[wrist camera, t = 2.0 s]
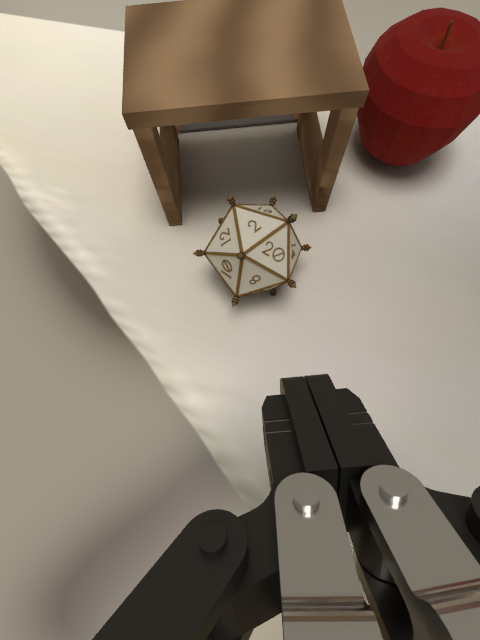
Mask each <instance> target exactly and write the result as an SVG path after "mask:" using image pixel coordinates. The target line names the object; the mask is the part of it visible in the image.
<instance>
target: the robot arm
mask: <svg viewBox="0 0 480 640" xmlns="http://www.w3.org/2000/svg"><path fill="white" fill-rule="evenodd" d="M280 393H281V395H272V396H266V399H265V401H264V403H263V406H262V420H263V434H264V446H265V453H266V459H267V466H268V473H269V480H270V487H271V492H270V494H269V496H268V497H267V499H266V500H265V501H264V502H263V503H262V504H261V505H260V506H258V507H257V508H256V509H254V510H252V511H250V512H248V513H246V514H243V515H241V516H239V517H237V516H235V515H234V514H232V513H231V512H229V511H225V510H219V509H217V510H209V511H206V512H203V513H201V514H199V515H197V516H196V517H195V518H193V519H192V520H191V521H190V522H189V523H188V525H187V526H186V527H185V528H184V529H183V531H182V532H181V533H180V534H179V535H178V537H177V538H176V539H175V540H174V541H173V543H172V544H171V545H170V546H169V547H168V549H167V550H166V551H165V552H164V554H163V555H162V556H161V557H160V558H159V559H158V561H157V562H156V563H155V564H154V565H153V567H152V568H151V569H150V570H149V572H148V573H147V574H146V575H145V576H144V578H143V579H142V580H141V581H140V583H139V584H138V585H137V586H136V587H135V588H134V590H133V591H132V592H131V593H130V594H129V596H128V597H127V598H126V599H125V601H124V602H123V603H122V604H121V606H120V607H119V608H118V609H117V610H116V611H115V613H114V614H113V615H112V616H111V617H110V619H109V620H108V621H107V622H106V623H105V625H104V626H103V627H102V628H101V630H100V631H99V632H98V633H97V634H96V635H95V637H94V638H93V639H92V640H249V637H250V636H251V633H252V631H253V629H254V628H256V627H257V626H259V625H261V624H262V623H264V622H266V621H268V620H269V619H271V618H273V617H274V616H276V615H278V614H280V613H282V624H283V639H284V640H480V486H479V487H478V488H476V489H475V490H474V492H473V494H472V497H471V498H470V497H465V496H460V495H454V494H449V493H444V492H439V491H435V490H431V489H429V488H426V487H424V486H423V485H422V483H421V482H420V481H419V480H418V479H417V478H416V477H415V476H413V475H412V474H411V473H409V472H407V471H406V470H403V469H401V468H400V467H399V466H398V464H397V463H396V461H395V459H394V457H393V456H392V454H391V452H390V450H389V449H388V447H387V445H386V443H385V442H384V440H383V438H382V436H381V435H380V433H379V431H378V430H377V428H376V426H375V424H373V421H372V419H371V417H370V416H369V414H368V413H367V410H366V409H365V407H364V405H363V403H362V402H361V400H360V398H359V397H357V396H356V395H355V394H354V393H352V392H351V391H350V390H348V389H347V388H343V389H335V387H334V385H333V383H332V381H331V379H330V377H329V375H328V374H321V375H310V376H304V377H303V376H301V377H291V378H281V379H280ZM347 532H349V534H350V537H351V540H352V543H353V546H354V549H353V555H352V551H351V547H350V544H349V540H348V536H347ZM357 574H358V575H357ZM358 577H359V579H360V582H361V585H362V587H363V590H364V592H365V595H366V597H367V600H368V602H369V605H370V606H369V605H367V604H366V602H365V600H364V597H363V594H362V590H361V587H360V583H359V579H358ZM382 638H383V639H382Z"/></svg>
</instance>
